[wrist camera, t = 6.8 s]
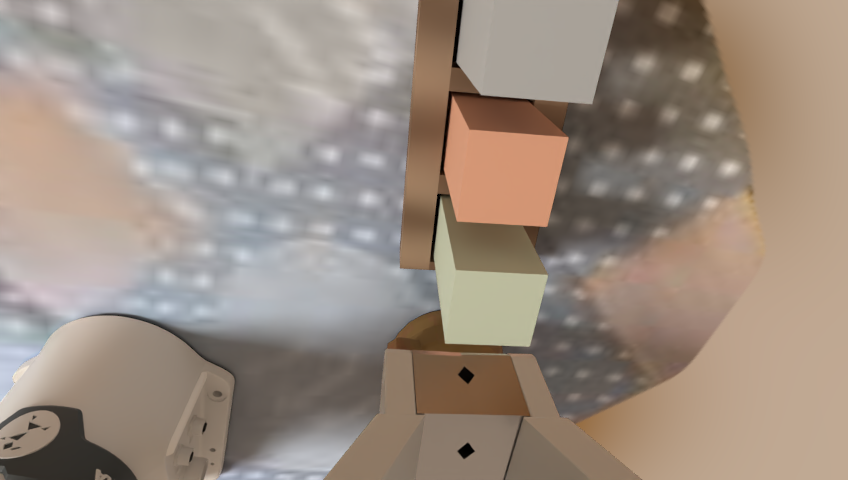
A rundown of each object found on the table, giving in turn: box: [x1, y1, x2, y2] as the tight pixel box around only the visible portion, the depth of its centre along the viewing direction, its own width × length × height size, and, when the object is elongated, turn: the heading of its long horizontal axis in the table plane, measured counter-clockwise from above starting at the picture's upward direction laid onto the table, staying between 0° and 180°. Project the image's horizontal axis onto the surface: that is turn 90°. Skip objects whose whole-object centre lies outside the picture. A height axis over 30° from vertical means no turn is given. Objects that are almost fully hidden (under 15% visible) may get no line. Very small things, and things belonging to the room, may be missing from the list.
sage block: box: [434, 195, 548, 347], centre depth 30 cm, size 5×5×10 cm
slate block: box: [456, 0, 619, 104], centre depth 24 cm, size 5×5×10 cm
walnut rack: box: [400, 0, 569, 270], centre depth 32 cm, size 21×10×3 cm, turn 175°
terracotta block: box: [442, 91, 569, 227], centre depth 29 cm, size 5×5×10 cm
